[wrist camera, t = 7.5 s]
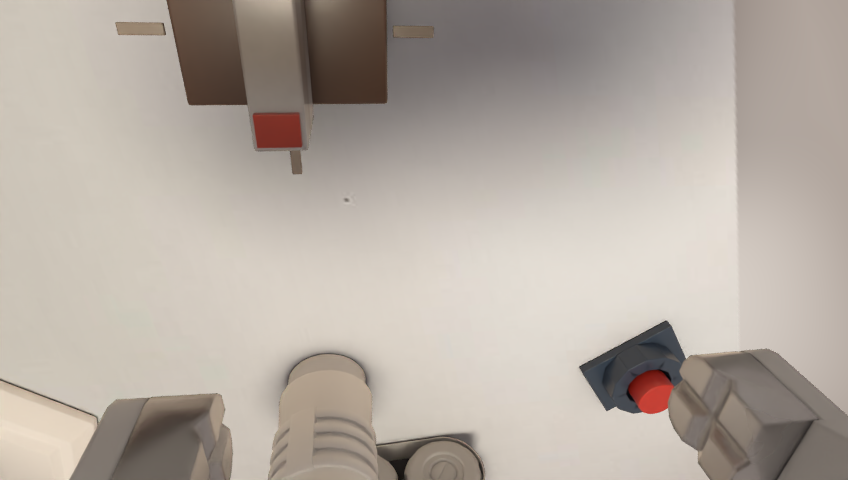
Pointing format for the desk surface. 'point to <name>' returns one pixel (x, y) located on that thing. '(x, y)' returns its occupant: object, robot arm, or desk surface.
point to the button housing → (634, 366)
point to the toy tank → (431, 460)
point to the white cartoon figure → (40, 436)
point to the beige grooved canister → (325, 423)
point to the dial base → (327, 47)
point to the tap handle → (276, 72)
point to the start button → (651, 391)
